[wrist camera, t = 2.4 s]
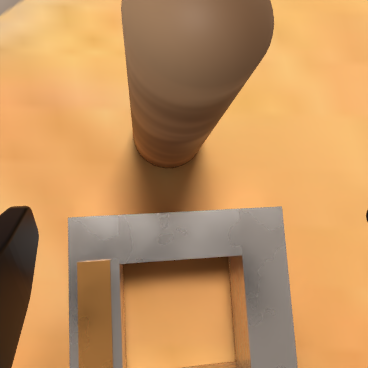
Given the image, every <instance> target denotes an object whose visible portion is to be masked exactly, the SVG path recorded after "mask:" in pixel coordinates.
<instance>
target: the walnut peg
mask: <svg viewBox="0 0 368 368" xmlns="http://www.w3.org/2000/svg"><path fill="white" fill-rule="evenodd" d="M121 12H122V25H123V35H124V45H125V55H126V66H127V76H128V86H129V96H130V107H131V117H132V127H133V137H134V143H135V146H136V148H137V150H138V152H139V153H140V154H141V156H142V157H143V158H144V159H145V160H147V161H148V162H149V163H151V164H153V165H155V166H158V167H163V168H174V167H178V166H181V165H183V164H185V163H187V162H188V161H190V160H191V159H192V158H193V157H194V156H195V154H196V153H197V151H198V150H199V149H200V147H201V146H202V144H203V143H204V141H205V140H206V139H207V137H208V136H209V134H210V133H211V131H212V130H213V129H214V127H215V126H216V124H217V123H218V121H219V120H220V119H221V117H222V116H223V114H224V113H225V111H226V110H227V109H228V107H229V106H230V104H231V103H232V101H233V100H234V99H235V97H236V96H237V94H238V93H239V91H240V90H241V89H242V87H243V86H244V84H245V83H246V81H247V80H248V79H249V77H250V76H251V74H252V73H253V71H254V70H255V69H256V67H257V66H258V64H259V63H260V61H261V60H262V58H263V57H264V55H265V54H266V52H267V50H268V48H269V46H270V43H271V39H272V35H273V29H274V16H273V9H272V5H271V1H270V0H122V5H121Z"/></svg>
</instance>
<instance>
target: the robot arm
mask: <svg viewBox="0 0 368 368" xmlns="http://www.w3.org/2000/svg"><path fill="white" fill-rule="evenodd" d="M366 218H367V222H368V210H367V213H366ZM38 240H39V234H38V229H37V226H36V222H35V219H34V216H33V213H32V210H31V208H30V207H28V206H14V207H10V208H8V209H7V210H6V211H5V212H3V213H2V214H1V215H0V368H11V367H12V364H13V360H14V356H15V353H16V349H17V345H18V341H19V338H20V334H21V330H22V327H23V323H24V319H25V316H26V312H27V308H28V304H29V300H30V295H31V289H32V282H33V275H34V268H35V261H36V254H37V247H38Z"/></svg>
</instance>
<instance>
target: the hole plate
mask: <svg viewBox="0 0 368 368" xmlns="http://www.w3.org/2000/svg"><path fill="white" fill-rule="evenodd" d="M68 252H69V341H70V368H126V341H125V311H124V280H123V264H127V263H141V262H155V261H169V260H183V259H197V258H211V257H225V256H228V260H229V273H230V287H231V300H232V314H233V327H234V341H235V354H236V361H235V362H227V363H218V364H209V365H201V366H192V367H183V368H298V367H297V356H296V346H295V336H294V326H293V315H292V305H291V295H290V284H289V274H288V264H287V254H286V243H285V233H284V223H283V213H282V207H264V208H244V209H225V210H206V211H187V212H168V213H148V214H129V215H110V216H91V217H72V218H68Z"/></svg>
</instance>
